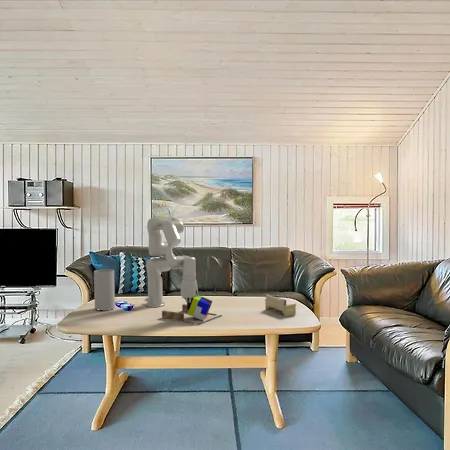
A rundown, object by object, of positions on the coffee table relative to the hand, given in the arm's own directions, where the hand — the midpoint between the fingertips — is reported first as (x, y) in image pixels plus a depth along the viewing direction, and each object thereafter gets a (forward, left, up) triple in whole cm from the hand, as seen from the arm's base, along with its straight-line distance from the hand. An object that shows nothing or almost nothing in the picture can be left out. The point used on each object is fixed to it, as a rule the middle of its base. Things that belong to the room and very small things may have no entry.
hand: (189, 308), depth 238 cm
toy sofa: (+41, +39, -5) cm, 56 cm away
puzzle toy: (+6, 0, -3) cm, 6 cm away
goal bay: (+9, 0, -5) cm, 10 cm away
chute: (-5, 0, -5) cm, 7 cm away
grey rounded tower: (-60, -13, -5) cm, 61 cm away
